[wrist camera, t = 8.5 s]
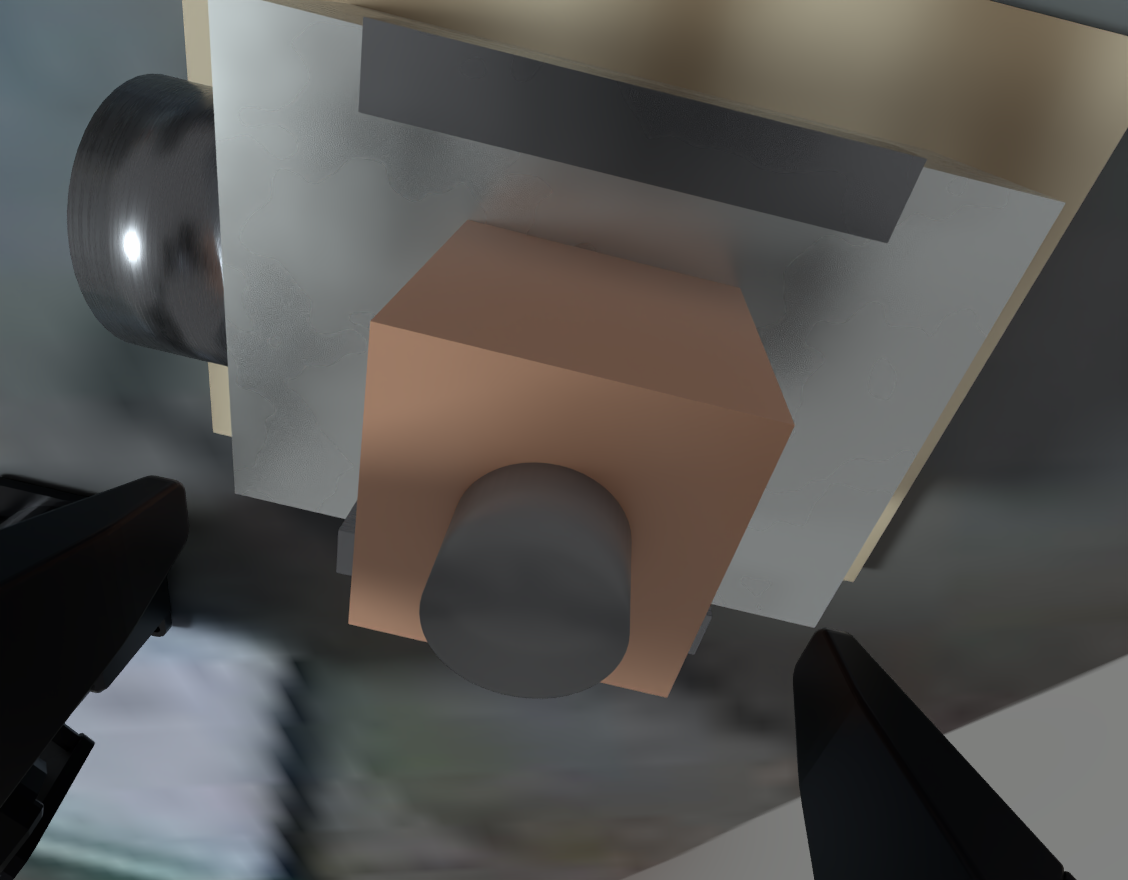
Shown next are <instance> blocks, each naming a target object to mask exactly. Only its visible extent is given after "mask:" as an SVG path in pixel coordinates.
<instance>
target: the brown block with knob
mask: <svg viewBox="0 0 1128 880" xmlns="http://www.w3.org/2000/svg"><path fill="white" fill-rule="evenodd" d="M794 426H795V424H794V421H793V419H792V416H791V414H790V411H789V409H788V406H787V404H786V401H785V399H784V396H783V394H782V391H781V389H780V386H779V384H778V381H777V379H776V376H775V374H774V371H773V369H772V366H771V364H770V361H769V359H768V356H767V354H766V351H765V349H764V346H763V344H762V341H761V339H760V336H759V334H758V331H757V329H756V326H755V324H754V321H753V319H752V316H751V314H750V311H749V309H748V306H747V304H746V301H745V299H744V296H743V294H742V291H741V289H740V288H738V287H734V286H730V285H726V284H722V283H718V282H714V281H710V280H706V279H702V278H698V277H694V276H690V275H686V274H682V273H678V272H674V271H670V270H666V269H662V268H658V267H654V266H650V265H646V264H642V263H638V262H634V261H630V260H626V259H622V258H618V257H614V256H611V255H607V254H603V253H599V252H595V251H591V250H587V249H583V248H579V247H575V246H571V245H567V244H563V243H559V242H555V241H551V240H547V239H543V238H539V237H535V236H531V235H527V234H523V233H519V232H515V231H511V230H507V229H503V228H499V227H495V226H491V225H487V224H483V223H479V222H475V221H471V220H467V221H466V222H465V223H464V224H463V225H462V226H461V227H460V228H459V229H458V230H457V231H456V232H455V233H454V234H453V235H452V236H451V237H450V238H449V239H448V241H447V242H446V243H445V244H444V245H443V246H442V247H441V248H440V249H439V250H438V251H437V252H436V253H435V254H434V255H433V256H432V257H431V258H430V259H429V260H428V261H427V262H426V263H425V265H424V266H423V267H422V268H421V269H420V270H419V271H418V272H417V273H416V274H415V275H414V276H413V277H412V278H411V279H410V280H409V281H408V282H407V283H406V284H405V285H404V286H403V287H402V288H401V290H400V291H399V292H398V293H397V294H396V295H395V296H394V297H393V298H392V299H391V300H390V301H389V302H388V303H387V304H386V305H385V306H384V307H383V308H382V309H381V310H380V311H379V312H378V314H377V315H376V316H375V317H374V318H373V319H372V320H371V321H370V331H369V345H368V359H367V373H366V386H365V400H364V414H363V428H362V442H361V456H360V469H359V483H358V497H357V511H356V525H355V539H354V553H353V566H352V580H351V594H350V608H349V622H348V624H351V625H355V626H359V627H364V628H368V629H372V630H376V631H381V632H385V633H389V634H394V635H398V636H402V637H407V638H411V639H415V640H420V641H424V642H428V644H429V645H430V647H431V648H432V650H433V651H434V653H435V654H436V655H437V656H438V657H439V658H440V660H441V661H442V662H443V663H445V664H446V665H447V666H448V667H449V668H450V669H451V670H453V671H454V672H455V673H457V674H458V675H460V676H461V677H463V678H465V679H466V680H468V681H470V682H472V683H474V684H476V685H478V686H480V687H482V688H485V689H488V690H491V691H493V692H497V693H501V694H504V695H509V696H514V697H522V698H556V697H561V696H567V695H571V694H574V693H578V692H581V691H583V690H586V689H588V688H590V687H592V686H594V685H596V684H598V683H599V682H601V683H605V684H610V685H614V686H618V687H623V688H627V689H631V690H636V691H640V692H644V693H649V694H653V695H657V696H662V697H666V698H667V697H668V695H669V692H670V690H671V688H672V686H673V684H674V682H675V680H676V677H677V675H678V673H679V671H680V669H681V667H682V665H683V663H684V660H685V658H686V656H687V654H688V652H689V650H690V648H691V646H692V643H693V641H694V639H695V637H696V635H697V633H698V631H699V629H700V626H701V624H702V622H703V620H704V618H705V616H706V614H707V612H708V609H709V607H710V605H711V603H712V601H713V599H714V597H715V595H716V592H717V590H718V588H719V586H720V584H721V582H722V580H723V577H724V575H725V573H726V571H727V569H728V567H729V565H730V563H731V560H732V558H733V556H734V554H735V552H736V550H737V548H738V546H739V543H740V541H741V539H742V537H743V535H744V533H745V531H746V529H747V526H748V524H749V522H750V520H751V518H752V516H753V514H754V512H755V509H756V507H757V505H758V503H759V501H760V499H761V497H762V494H763V492H764V490H765V488H766V486H767V484H768V482H769V480H770V477H771V475H772V473H773V471H774V469H775V467H776V465H777V463H778V460H779V458H780V456H781V454H782V452H783V450H784V448H785V446H786V443H787V441H788V439H789V437H790V435H791V433H792V431H793V429H794Z"/></svg>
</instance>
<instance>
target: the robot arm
mask: <svg viewBox="0 0 1128 880" xmlns="http://www.w3.org/2000/svg"><path fill="white" fill-rule="evenodd" d="M188 533H189V520H188V511H187V501H186V492H185V488H184V486H183V484H182V483H181V482H179V481H177V480H173V479H168V478H164V477H159V476H152V475H151V476H146V477H143V478H140V479H137V480H135V481H132V482H129V483H126V484H124V485H121V486H118V487H115V488H113V489H110V490H107V491H104V492H101V493H99V494H96V495H93V496H90V497H84V496H79V495H75V494H71V493H66V492H62V491H58V490H53V489H49V488H45V487H40V486H36V485H32V484H27V483H23V482H19V481H14V480H10V479H6V478H1V477H0V880H13V879H14V878H15V877H16V875H17V874H18V873H19V871H20V870H21V869H22V867H23V866H24V865H25V863H26V862H27V860H28V859H29V857H30V856H31V854H32V853H33V851H34V849H35V848H36V846H37V844H38V843H39V841H40V839H41V837H42V836H43V834H44V832H45V830H46V829H47V827H48V825H49V823H50V822H51V820H52V818H53V816H54V815H55V813H56V811H57V809H58V808H59V806H60V804H61V802H62V801H63V799H64V797H65V795H66V794H67V792H68V790H69V788H70V787H71V785H72V783H73V781H74V780H75V778H76V776H77V774H78V773H79V771H80V769H81V767H82V765H83V764H84V762H85V760H86V758H87V757H88V755H89V753H90V751H91V750H92V748H93V746H94V744H95V742H94V741H93V740H91V739H90V738H89V737H87V736H86V735H85V734H83V733H81V734H78V733H77V732H75V731H74V730H73V729H71V728H70V727H69V726H67V725H66V724H65V722H66V720H67V719H68V718H69V716H70V715H71V714H72V712H73V711H74V710H75V709H76V708H77V706H78V705H79V704H80V703H81V702H82V701H83V699H84V698H85V697H86V696H87V695H88V693H89V692H95V693H100V692H102V691H103V690H105V689H107V688H108V687H109V686H110V684H111V683H112V682H113V681H114V680H115V678H116V677H117V676H118V675H119V673H120V672H121V671H122V670H123V669H124V667H125V666H126V665H127V664H128V663H129V661H130V660H131V659H132V658H133V656H134V655H135V654H136V653H137V652H138V650H139V649H140V648H141V647H142V645H143V644H144V643H145V642H146V641H147V639H148V638H149V637H150V636H151V635H152V636H157V637H161V636H164V635H165V634H166V633H167V631H168V630H169V629H170V628H171V625H172V622H171V614H170V611H171V608H170V600H169V593H168V585H167V578H166V575H167V573H168V572H169V570H170V568H171V566H172V565H173V563H174V561H175V560H176V558H177V556H178V555H179V553H180V551H181V550H182V548H183V546H184V545H185V543H186V540H187V537H188ZM793 692H794V710H795V728H796V745H797V763H798V777H799V787H800V794H801V801H802V808H803V814H804V820H805V826H806V832H807V838H808V844H809V850H810V856H811V862H812V868H813V874H814V880H1076V879H1075V878H1074V877H1073V876H1072V875H1071V873H1069V872H1066V871H1064V868H1063V865H1062V864H1061V863H1060V862H1059V861H1058V860H1057V858H1056V857H1055V856H1054V855H1053V854H1052V853H1051V852H1050V851H1049V850H1048V849H1047V848H1046V846H1045V845H1044V844H1043V843H1042V842H1041V841H1040V840H1039V839H1038V838H1037V837H1036V836H1035V835H1034V833H1033V832H1032V831H1031V830H1030V829H1029V828H1028V827H1027V826H1026V825H1025V824H1024V822H1023V821H1022V820H1021V819H1020V818H1019V817H1018V816H1017V815H1016V814H1015V813H1014V812H1013V810H1011V808H1010V807H1009V806H1008V805H1007V804H1006V803H1005V802H1004V801H1003V800H1002V798H1001V797H1000V796H999V795H998V794H997V793H996V792H995V791H994V790H993V789H992V788H991V787H990V786H989V784H988V783H987V782H986V781H985V780H984V779H983V778H982V777H981V776H980V775H979V773H977V771H976V770H975V769H974V768H973V767H972V766H971V765H970V764H969V763H968V761H967V760H966V759H965V758H964V757H963V756H962V755H961V754H960V753H959V752H958V751H957V750H956V748H955V747H954V746H953V745H952V744H951V743H950V742H949V741H948V740H947V739H946V737H945V736H944V735H943V734H942V733H941V732H940V731H939V730H938V729H937V728H936V727H935V725H934V724H933V723H932V722H931V721H930V720H929V719H928V718H927V717H926V716H925V715H924V713H923V712H922V711H921V710H920V709H919V708H918V707H917V706H916V705H915V704H914V703H913V701H912V700H911V699H910V698H909V697H908V696H907V695H906V694H905V693H904V692H903V691H902V689H901V688H900V687H899V686H898V685H897V684H896V683H895V682H894V681H893V680H892V679H891V677H890V676H889V675H888V674H887V673H886V672H885V671H884V670H883V669H882V668H881V667H880V666H879V664H878V663H877V662H876V661H875V660H874V659H873V658H872V657H871V656H870V655H869V654H868V652H867V651H866V650H865V649H864V648H863V647H862V646H861V645H860V644H859V643H858V642H857V640H856V639H855V638H854V637H853V636H852V635H850V634H849V633H846V632H843V631H838V630H834V629H829V628H820V629H818V630H817V631H816V632H815V633H814V635H813V636H812V638H811V640H810V641H809V643H808V645H807V647H806V648H805V650H804V652H803V653H802V655H801V657H800V658H799V660H798V662H797V664H796V666H795V669H794V674H793Z"/></svg>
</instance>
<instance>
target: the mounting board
mask: <svg viewBox="0 0 1128 880" xmlns="http://www.w3.org/2000/svg"><path fill="white" fill-rule="evenodd" d="M323 1H331V2H339V3H347V4H353V5H357V6H360V7H364V8H368V9H372V10H376V11H380V12H384V13H388V14H392V15H396V16H400V17H404V18H408V19H412V20H416V21H420V22H424V23H428V24H432V25H436V26H440V27H444V28H448V29H452V30H455V31H459V32H463V33H467V34H471V35H475V36H479V37H483V38H487V39H491V40H495V41H499V42H503V43H507V44H511V45H515V46H519V47H523V48H527V49H531V50H535V51H539V52H543V53H546V54H550V55H554V56H558V57H562V58H566V59H570V60H574V61H578V62H582V63H586V64H590V65H594V66H598V67H602V68H606V69H610V70H614V71H618V72H622V73H626V74H630V75H634V76H637V77H641V78H645V79H649V80H653V81H657V82H661V83H665V84H669V85H673V86H677V87H681V88H685V89H689V90H693V91H697V92H701V93H705V94H709V95H713V96H717V97H721V98H725V99H729V100H732V101H736V102H740V103H744V104H748V105H752V106H756V107H760V108H764V109H768V110H772V111H776V112H780V113H784V114H788V115H792V116H796V117H800V118H804V119H808V120H812V121H816V122H820V123H823V124H827V125H831V126H835V127H839V128H843V129H847V130H851V131H855V132H859V133H863V134H867V135H871V136H875V137H879V138H883V139H887V140H891V141H895V142H899V143H903V144H907V145H911V146H914V147H918V148H922V149H926V150H930V151H932V152H935V153H938V154H940V155H943V156H945V157H948V158H951V159H953V160H956V161H958V162H961V163H964V164H966V165H969V166H971V167H974V168H977V169H979V170H982V171H984V172H987V173H990V174H992V175H995V176H997V177H1000V178H1003V179H1005V180H1008V181H1010V182H1013V183H1016V184H1018V185H1021V186H1023V187H1026V188H1029V189H1031V190H1034V191H1036V192H1039V193H1042V194H1044V195H1047V196H1049V197H1052V198H1055V199H1057V200H1060V201H1062V202H1065V205H1064V207H1063V209H1062V210H1061V212H1060V214H1059V215H1058V217H1057V219H1056V220H1055V222H1054V224H1053V225H1052V227H1051V229H1050V231H1049V232H1048V234H1047V236H1046V237H1045V239H1044V241H1043V242H1042V244H1041V246H1040V247H1039V249H1038V251H1037V253H1036V254H1035V256H1034V258H1033V259H1032V261H1031V263H1030V264H1029V266H1028V268H1027V269H1026V271H1025V273H1024V275H1023V276H1022V278H1021V280H1020V281H1019V283H1018V285H1017V286H1016V288H1015V290H1014V291H1013V293H1012V295H1011V297H1010V298H1009V300H1008V302H1007V303H1006V305H1005V307H1004V308H1003V310H1002V312H1001V313H1000V315H999V317H998V319H997V320H996V322H995V324H994V325H993V327H992V329H991V330H990V332H989V334H988V335H987V337H986V339H985V340H984V342H983V344H982V346H981V347H980V349H979V351H978V352H977V354H976V356H975V357H974V359H973V361H972V362H971V364H970V366H969V368H968V369H967V371H966V373H965V374H964V376H963V378H962V379H961V381H960V383H959V384H958V386H957V388H956V390H955V391H954V393H953V395H952V396H951V398H950V400H949V401H948V403H947V405H946V406H945V408H944V410H943V412H942V413H941V415H940V417H939V418H938V420H937V422H936V423H935V425H934V427H933V428H932V430H931V432H930V434H929V435H928V437H927V439H926V440H925V442H924V444H923V445H922V447H921V449H920V450H919V452H918V454H917V456H916V457H915V459H914V461H913V462H912V464H911V466H910V467H909V469H908V471H907V472H906V474H905V476H904V478H903V479H902V481H901V483H900V484H899V486H898V488H897V489H896V491H895V493H894V494H893V496H892V498H891V500H890V501H889V503H888V505H887V506H886V508H885V510H884V511H883V513H882V515H881V516H880V518H879V520H878V522H877V523H876V525H875V527H874V528H873V530H872V532H871V533H870V535H869V537H868V538H867V540H866V542H865V543H864V545H863V547H862V549H861V550H860V552H859V554H858V555H857V557H856V559H855V560H854V562H853V564H852V565H851V567H850V569H849V571H848V572H847V574H846V576H845V577H844V579H843V580H846V581H850V582H854V580H855V578H856V577H857V575H858V574H859V572H860V570H861V569H862V567H863V565H864V564H865V562H866V560H867V559H868V557H869V555H870V554H871V552H872V550H873V549H874V547H875V545H876V544H877V542H878V540H879V539H880V537H881V535H882V534H883V532H884V530H885V529H886V527H887V525H888V524H889V522H890V521H891V519H892V517H893V516H894V514H895V512H896V511H897V509H898V507H899V506H900V504H901V502H902V501H903V499H904V497H905V496H906V494H907V492H908V491H909V489H910V487H911V486H912V484H913V482H914V481H915V479H916V477H917V476H918V474H919V472H920V471H921V469H922V468H923V466H924V464H925V463H926V461H927V459H928V458H929V456H930V454H931V453H932V451H933V449H934V448H935V446H936V444H937V443H938V441H939V439H940V438H941V436H942V434H943V433H944V431H945V429H946V428H947V426H948V424H949V423H950V421H951V419H952V418H953V416H954V414H955V413H956V411H957V410H958V408H959V406H960V405H961V403H962V401H963V400H964V398H965V396H966V395H967V393H968V391H969V390H970V388H971V386H972V385H973V383H974V381H975V380H976V378H977V376H978V375H979V373H980V371H981V370H982V368H983V366H984V365H985V363H986V361H987V360H988V358H989V357H990V355H991V353H992V352H993V350H994V348H995V347H996V345H997V343H998V342H999V340H1000V338H1001V337H1002V335H1003V333H1004V332H1005V330H1006V328H1007V327H1008V325H1009V323H1010V322H1011V320H1012V318H1013V317H1014V315H1015V313H1016V312H1017V310H1018V308H1019V307H1020V305H1021V303H1022V302H1023V300H1024V299H1025V297H1026V295H1027V294H1028V292H1029V290H1030V289H1031V287H1032V285H1033V284H1034V282H1035V280H1036V279H1037V277H1038V275H1039V274H1040V272H1041V270H1042V269H1043V267H1044V265H1045V264H1046V262H1047V260H1048V259H1049V257H1050V255H1051V254H1052V252H1053V250H1054V249H1055V247H1056V246H1057V244H1058V242H1059V241H1060V239H1061V237H1062V236H1063V234H1064V232H1065V231H1066V229H1067V227H1068V226H1069V224H1070V222H1071V221H1072V219H1073V217H1074V216H1075V214H1076V212H1077V211H1078V209H1079V207H1080V206H1081V204H1082V202H1083V201H1084V199H1085V197H1086V196H1087V194H1088V193H1089V191H1090V189H1091V188H1092V186H1093V184H1094V183H1095V181H1096V179H1097V178H1098V176H1099V174H1100V173H1101V171H1102V169H1103V168H1104V166H1105V164H1106V163H1107V161H1108V159H1109V158H1110V156H1111V154H1112V153H1113V151H1114V149H1115V148H1116V146H1117V144H1118V143H1119V141H1120V139H1121V138H1122V136H1123V135H1124V133H1125V131H1126V130H1127V128H1128V36H1125V35H1121V34H1117V33H1113V32H1109V31H1105V30H1101V29H1098V28H1094V27H1090V26H1086V25H1082V24H1078V23H1074V22H1071V21H1067V20H1063V19H1059V18H1055V17H1051V16H1047V15H1044V14H1040V13H1036V12H1032V11H1028V10H1024V9H1021V8H1017V7H1013V6H1009V5H1005V4H1001V3H997V2H994V1H990V0H323ZM182 4H183V18H184V32H185V46H186V60H187V74H188V81H191V82H195V83H199V84H203V85H207V86H211V87H213V86H212V68H211V49H210V31H209V13H208V0H182ZM208 366H209V380H210V394H211V408H212V422H213V432H214V433H218V434H223V435H227V436H231V437H232V431H231V413H230V395H229V377H228V367H227V366H223V365H219V364H215V363H211V362H208Z"/></svg>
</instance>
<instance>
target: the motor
mask: <svg viewBox="0 0 1128 880" xmlns="http://www.w3.org/2000/svg"><path fill="white" fill-rule="evenodd" d="M208 13H209V31H210V49H211V68H212V86H213V87H211V86H207V85H203V84H199V83H195V82H191V81H187V80H183V79H179V78H175V77H171V76H167V75H163V74H146V75H141V76H137V77H135V78H133V79H130V80H128V81H126V82H125V83H123V84H122V85H120V86H119V87H118V88H116V89H115V90H114V91H113V92H112V93H111V94H110V95H109V96H108V97H107V98H106V99H105V100H104V101H103V102H102V104H101V105H100V107H99V108H98V109H97V111H96V112H95V113H94V115H93V117H92V119H91V121H90V122H89V124H88V126H87V128H86V130H85V132H84V135H83V137H82V140H81V142H80V145H79V147H78V150H77V154H76V157H75V161H74V165H73V168H72V173H71V179H70V185H69V193H68V207H67V225H68V239H69V248H70V255H71V259H72V263H73V268H74V272H75V275H76V278H77V281H78V284H79V287H80V290H81V292H82V294H83V296H84V298H85V300H86V302H87V304H88V306H89V308H90V309H91V311H92V312H93V314H94V315H95V317H96V318H97V319H98V320H99V322H100V323H101V324H102V325H103V326H104V327H105V328H106V329H107V330H108V331H110V332H111V333H112V334H113V335H115V336H116V337H118V338H120V339H122V340H123V341H125V342H128V343H132V344H135V345H139V346H143V347H147V348H151V349H156V350H160V351H164V352H168V353H173V354H177V355H181V356H185V357H189V358H194V359H198V360H202V361H206V362H211V363H215V364H219V365H223V366H227V367H228V377H229V395H230V413H231V431H232V450H233V468H234V486H235V494H239V495H244V496H248V497H252V498H257V499H261V500H265V501H270V502H274V503H278V504H283V505H287V506H291V507H296V508H300V509H304V510H308V511H313V512H317V513H321V514H326V515H330V516H334V517H339V518H343V519H345V520H344V522H343V524H342V525H341V527H340V529H339V530H338V547H337V568H336V573H340V574H345V575H349V576H352V566H353V553H354V539H355V525H356V511H357V497H358V483H359V469H360V456H361V442H362V428H363V414H364V400H365V386H366V373H367V359H368V345H369V331H370V321H371V320H372V319H373V318H374V317H375V316H376V315H377V314H378V312H379V311H380V310H381V309H382V308H383V307H384V306H385V305H386V304H387V303H388V302H389V301H390V300H391V299H392V298H393V297H394V296H395V295H396V294H397V293H398V292H399V291H400V290H401V288H402V287H403V286H404V285H405V284H406V283H407V282H408V281H409V280H410V279H411V278H412V277H413V276H414V275H415V274H416V273H417V272H418V271H419V270H420V269H421V268H422V267H423V266H424V265H425V263H426V262H427V261H428V260H429V259H430V258H431V257H432V256H433V255H434V254H435V253H436V252H437V251H438V250H439V249H440V248H441V247H442V246H443V245H444V244H445V243H446V242H447V241H448V239H449V238H450V237H451V236H452V235H453V234H454V233H455V232H456V231H457V230H458V229H459V228H460V227H461V226H462V225H463V224H464V223H465V222H466V221H467V220H471V221H475V222H479V223H483V224H487V225H491V226H495V227H499V228H503V229H507V230H511V231H515V232H519V233H523V234H527V235H531V236H535V237H539V238H543V239H547V240H551V241H555V242H559V243H563V244H567V245H571V246H575V247H579V248H583V249H587V250H591V251H595V252H599V253H603V254H607V255H611V256H614V257H618V258H622V259H626V260H630V261H634V262H638V263H642V264H646V265H650V266H654V267H658V268H662V269H666V270H670V271H674V272H678V273H682V274H686V275H690V276H694V277H698V278H702V279H706V280H710V281H714V282H718V283H722V284H726V285H730V286H734V287H738V288H740V289H741V291H742V294H743V296H744V299H745V301H746V304H747V306H748V309H749V311H750V314H751V316H752V319H753V321H754V324H755V326H756V329H757V331H758V334H759V336H760V339H761V341H762V344H763V346H764V349H765V351H766V354H767V356H768V359H769V361H770V364H771V366H772V369H773V371H774V374H775V376H776V379H777V381H778V384H779V386H780V389H781V391H782V394H783V396H784V399H785V401H786V404H787V406H788V409H789V411H790V414H791V416H792V419H793V421H794V424H795V426H794V429H793V431H792V433H791V435H790V437H789V439H788V441H787V443H786V446H785V448H784V450H783V452H782V454H781V456H780V458H779V460H778V463H777V465H776V467H775V469H774V471H773V473H772V475H771V477H770V480H769V482H768V484H767V486H766V488H765V490H764V492H763V494H762V497H761V499H760V501H759V503H758V505H757V507H756V509H755V512H754V514H753V516H752V518H751V520H750V522H749V524H748V526H747V529H746V531H745V533H744V535H743V537H742V539H741V541H740V543H739V546H738V548H737V550H736V552H735V554H734V556H733V558H732V560H731V563H730V565H729V567H728V569H727V571H726V573H725V575H724V577H723V580H722V582H721V584H720V586H719V588H718V590H717V592H716V595H715V597H714V599H713V601H712V603H711V604H714V605H718V606H722V607H727V608H731V609H735V610H740V611H744V612H748V613H753V614H757V615H761V616H766V617H770V618H774V619H778V620H783V621H787V622H791V623H796V624H800V625H804V626H809V627H813V628H815V626H816V625H817V623H818V621H819V620H820V618H821V616H822V615H823V613H824V611H825V609H826V608H827V606H828V604H829V603H830V601H831V599H832V598H833V596H834V594H835V593H836V591H837V589H838V587H839V586H840V584H841V582H842V581H843V579H844V577H845V576H846V574H847V572H848V571H849V569H850V567H851V565H852V564H853V562H854V560H855V559H856V557H857V555H858V554H859V552H860V550H861V549H862V547H863V545H864V543H865V542H866V540H867V538H868V537H869V535H870V533H871V532H872V530H873V528H874V527H875V525H876V523H877V522H878V520H879V518H880V516H881V515H882V513H883V511H884V510H885V508H886V506H887V505H888V503H889V501H890V500H891V498H892V496H893V494H894V493H895V491H896V489H897V488H898V486H899V484H900V483H901V481H902V479H903V478H904V476H905V474H906V472H907V471H908V469H909V467H910V466H911V464H912V462H913V461H914V459H915V457H916V456H917V454H918V452H919V450H920V449H921V447H922V445H923V444H924V442H925V440H926V439H927V437H928V435H929V434H930V432H931V430H932V428H933V427H934V425H935V423H936V422H937V420H938V418H939V417H940V415H941V413H942V412H943V410H944V408H945V406H946V405H947V403H948V401H949V400H950V398H951V396H952V395H953V393H954V391H955V390H956V388H957V386H958V384H959V383H960V381H961V379H962V378H963V376H964V374H965V373H966V371H967V369H968V368H969V366H970V364H971V362H972V361H973V359H974V357H975V356H976V354H977V352H978V351H979V349H980V347H981V346H982V344H983V342H984V340H985V339H986V337H987V335H988V334H989V332H990V330H991V329H992V327H993V325H994V324H995V322H996V320H997V319H998V317H999V315H1000V313H1001V312H1002V310H1003V308H1004V307H1005V305H1006V303H1007V302H1008V300H1009V298H1010V297H1011V295H1012V293H1013V291H1014V290H1015V288H1016V286H1017V285H1018V283H1019V281H1020V280H1021V278H1022V276H1023V275H1024V273H1025V271H1026V269H1027V268H1028V266H1029V264H1030V263H1031V261H1032V259H1033V258H1034V256H1035V254H1036V253H1037V251H1038V249H1039V247H1040V246H1041V244H1042V242H1043V241H1044V239H1045V237H1046V236H1047V234H1048V232H1049V231H1050V229H1051V227H1052V225H1053V224H1054V222H1055V220H1056V219H1057V217H1058V215H1059V214H1060V212H1061V210H1062V209H1063V207H1064V205H1065V202H1062V201H1060V200H1057V199H1055V198H1052V197H1049V196H1047V195H1044V194H1042V193H1039V192H1036V191H1034V190H1031V189H1029V188H1026V187H1023V186H1021V185H1018V184H1016V183H1013V182H1010V181H1008V180H1005V179H1003V178H1000V177H997V176H995V175H992V174H990V173H987V172H984V171H982V170H979V169H977V168H974V167H971V166H969V165H966V164H964V163H961V162H958V161H956V160H953V159H951V158H948V157H945V156H943V155H940V154H938V153H935V152H932V151H930V150H926V149H922V148H918V147H914V146H911V145H907V144H903V143H899V142H895V141H891V140H887V139H883V138H879V137H875V136H871V135H867V134H863V133H859V132H855V131H851V130H847V129H843V128H839V127H835V126H831V125H827V124H823V123H820V122H816V121H812V120H808V119H804V118H800V117H796V116H792V115H788V114H784V113H780V112H776V111H772V110H768V109H764V108H760V107H756V106H752V105H748V104H744V103H740V102H736V101H732V100H729V99H725V98H721V97H717V96H713V95H709V94H705V93H701V92H697V91H693V90H689V89H685V88H681V87H677V86H673V85H669V84H665V83H661V82H657V81H653V80H649V79H645V78H641V77H637V76H634V75H630V74H626V73H622V72H618V71H614V70H610V69H606V68H602V67H598V66H594V65H590V64H586V63H582V62H578V61H574V60H570V59H566V58H562V57H558V56H554V55H550V54H546V53H543V52H539V51H535V50H531V49H527V48H523V47H519V46H515V45H511V44H507V43H503V42H499V41H495V40H491V39H487V38H483V37H479V36H475V35H471V34H467V33H463V32H459V31H455V30H452V29H448V28H444V27H440V26H436V25H432V24H428V23H424V22H420V21H416V20H412V19H408V18H404V17H400V16H396V15H392V14H388V13H384V12H380V11H376V10H372V9H368V8H364V7H360V6H357V5H353V4H347V3H339V2H331V1H323V0H208ZM711 618H712V612H711V605H710V607H709V609H708V612H707V614H706V616H705V618H704V620H703V622H702V624H701V626H700V629H699V631H698V633H697V635H696V637H695V639H694V641H693V643H692V646H691V648H690V650H689V652H688V653H689V654H693V655H695V652H696V650H697V648H698V646H699V644H700V642H701V640H702V637H703V635H704V633H705V631H706V629H707V627H708V625H709V623H710V620H711Z"/></svg>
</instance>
